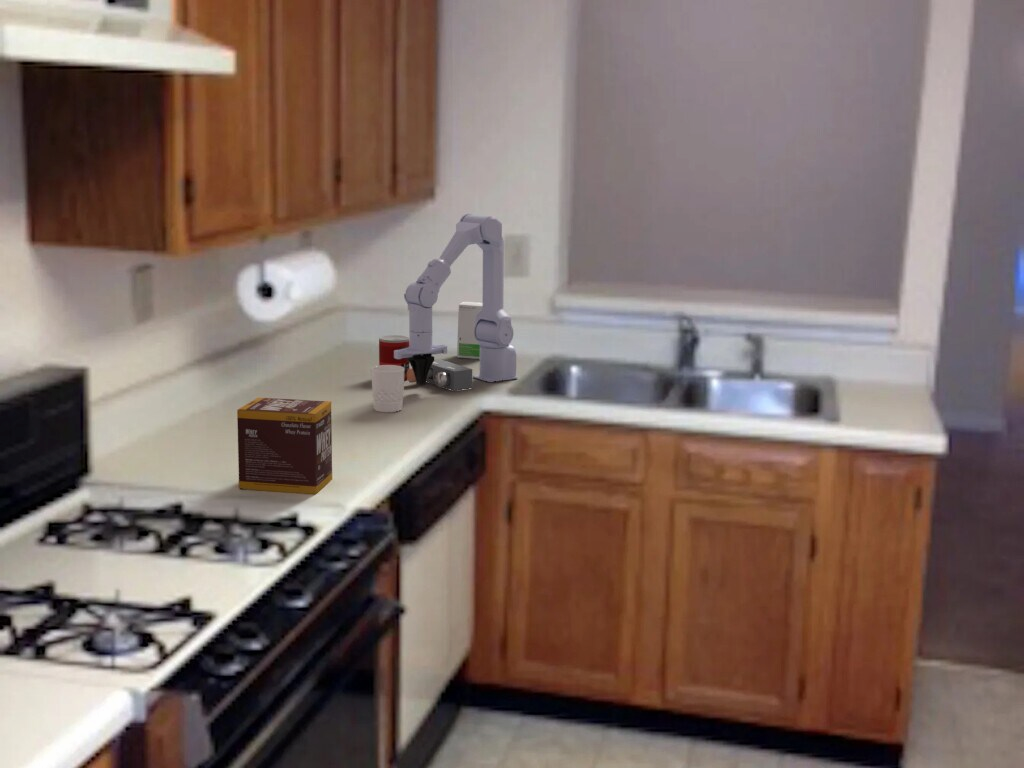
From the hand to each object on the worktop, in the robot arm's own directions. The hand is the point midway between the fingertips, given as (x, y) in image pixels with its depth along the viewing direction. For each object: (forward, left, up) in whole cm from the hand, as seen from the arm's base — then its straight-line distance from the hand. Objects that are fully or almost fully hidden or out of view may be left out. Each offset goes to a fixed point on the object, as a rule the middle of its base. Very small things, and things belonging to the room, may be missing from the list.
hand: (420, 384), depth 320 cm
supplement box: (+63, +53, -2) cm, 82 cm away
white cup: (+16, +11, -2) cm, 20 cm away
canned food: (-3, -18, -2) cm, 18 cm away
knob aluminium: (-9, 0, -1) cm, 9 cm away
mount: (-10, -4, -2) cm, 11 cm away
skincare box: (-37, -32, -2) cm, 49 cm away
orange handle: (-5, -8, -1) cm, 10 cm away
